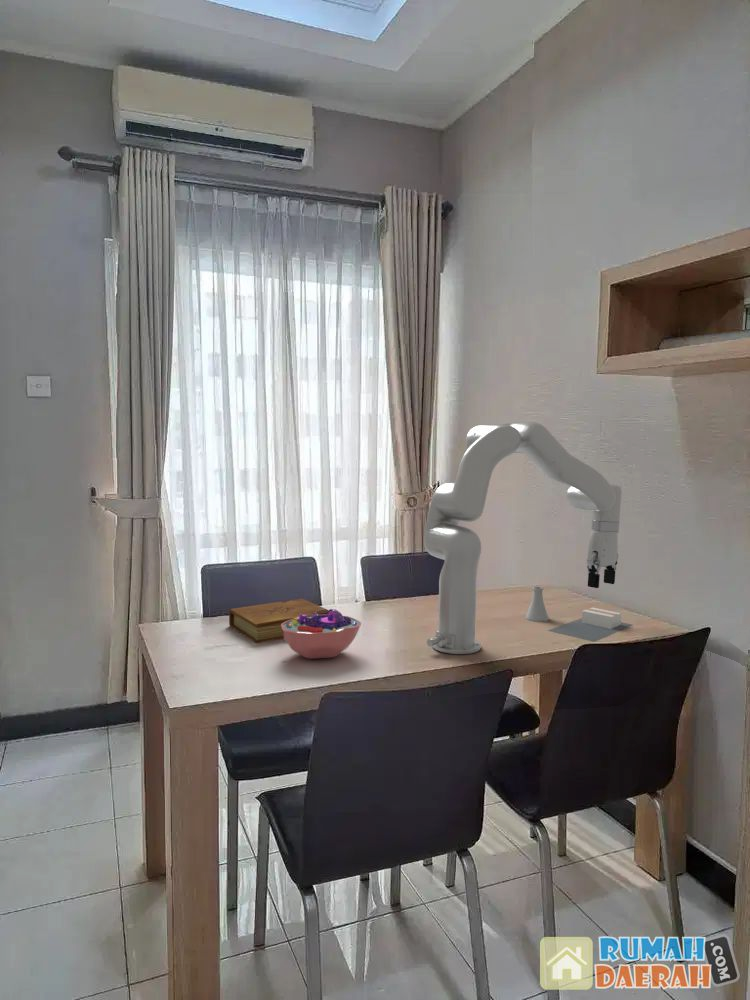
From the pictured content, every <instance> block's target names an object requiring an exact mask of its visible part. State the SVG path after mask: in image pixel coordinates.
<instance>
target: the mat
mask: <svg viewBox="0 0 750 1000" xmlns="http://www.w3.org/2000/svg"><path fill="white" fill-rule="evenodd" d="M632 626H633V624H631V623H626V622H624V621H623V622H622V621H621V623H620V625H619V626H617V627H614V628H612V629H609V628H604V627H600V626H595V625H591V624H586V623H582V617H581V618H578V619H575V620H573V621H570V622H567V623H565V624H562V625H559V626H556V627H554V628H551V629H548V630H547V631H548V632H552V633H556V634H561V635H565V636H568V637H573V638H577V639H581V640H585V641H590V642H593V643H594V642H597V641H599V640H602V639H604V638H606V637H608V636H609V637H610V635H611V636H612V634H613V635H614V634H615V633H618V632H620V631H622V630H624V629H627V628H630V627H632Z"/></svg>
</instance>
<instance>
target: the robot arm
mask: <svg viewBox="0 0 750 1000" xmlns="http://www.w3.org/2000/svg"><path fill="white" fill-rule="evenodd" d="M465 443H466V447H467V450H466V451H465V453H464V454H463V456H462V458H461V460H460V462H459V465H458V469H457V473H456V478H455V480H454V482H446V483H443V484H441V485H440V486H439V487H438V488H436V490H435V491H434V493H433V494H432V497H431V501H430V504H429V508H428V513H427V518H426V522H425V527H424V533H423V547H424V548H425V550H426V552H427V553H428V554H429V555H431V556H432V557H435V558H437V559H440V560H444V561H443V565H442V567H441V570H440V574H439V580H438V589H439V590H438V619H437V620H438V623H437V624H438V625H437V631H435V632H436V633H435V636H434V637H430V638H428V639H427V640H426V644H427V646H429V647H431V648H433V649H434V650H436V651H439V652H441V653H445V654H450V655H468V654H474V653H477V652H479V651H480V650H481V647H482V645H481V642H480V641H478V640H477V639H476V614H477V613H476V612H477V611H476V609H477V577H478V569H479V562H480V557H481V553H482V542H481V538H480V537H479V535H478V534H477V533H476V532H475V531H474V530H472V529H471V528H469V527H466V526H461V525H458V524H459V521H461V522H465V523H466V522H468V523H471V522H472V523H473V522H476V521H477V520H479V519H480V518H481V516H482V515H483V512H484V510H485V509H484V508H485V504H486V500H487V495H488V490H489V486H490V482H491V477H492V474H493V471H494V470H495V468H496V467H497V465H498V464H499V463H500V462H501V461H502V460H504V459H505V458H506V457H509V456H511V455H513V454H524V455H526V456H527V457H528V459H530V460H531V461H532V462H533V463H534V464H535V465H536V466H537V467H538V468H539V470H541V471H542V472H543V474H544V475H545V476H547V477H548V478H550V479H552V480H553V481H555V482H557V483H561V484H564V485H567V486H570V487H569V488H568V489H567V491H566V500H567V502H568V504H569V505H570V506H571V507H573V508H575V509H578V510H579V509H580V510H586V511H587V510H588V511H592V518H591V532H590V536H589V541H588V545H587V546H588V547H587V554H586V555H587V556H586V564H587V566H586V567H587V574H588V576H587V577H588V578H587V587H588V588H589V587H590V588H594V589H599V588H600V579H601V575H600V574H599V572H600V571H601V568H604V570H603V583H604V584H609V585H615V581H616V570H617V565H618V559H619V556H620V555H619V554H618V549H619V548H618V545H619V544H618V534H619V532H620V522H621V521H620V520H621V519H620V518H621V503H622V487H621V486H620V485H618V484H611V483H610V482H609V481H608V480H607V479H606V478H605V477H604V476H603V474H601V472H599V471H598V470H596V469H595V468H593V467H592V466H590V465H588V464H586V463H585V462H583V461H582V460H580V459H579V458H577V457H575V456H573V455H572V454H570V453H569V452H568V451H567V449H566V448H565V447H564V446H563V445H562V444H561V443H560V442H559V441H558V440H557V439H556V438H555V436H554V435H553V434H552V433H551V432H550V431H549V429H547V427H545V426H544V425H543V424H541V423H538V422H532V421H529V422H527V421H525V422H523V421H522V422H509V423H496V424H495V423H494V424H479V425H476V426H474V427H472V428H471V429H470V430H469V431H468V433H467V434H466V439H465Z"/></svg>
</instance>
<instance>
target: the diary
mask: <svg viewBox="0 0 750 1000" xmlns="http://www.w3.org/2000/svg"><path fill="white" fill-rule="evenodd" d="M329 610H330V609H327V608H326V607H322V606H320V605H318V604H316V603H314V602H311V601H309V600H306V599H305V598H298V599H290V600H284V601H283V600H282V601H276V602H275V601H274V602H269V603H263V604H256V605H255V604H253V605H249V606H241V607H236V608H234V607H233V608H230V609H229V611H228V621H229V622H228V625H229V628H232V629H233V630H234V631H236V632H237V633H239V634H241V635H243V636H244V637H246V638H247V639H248V640H251V641H252V643H253V642H254V643H255V644H261V643H267V642H271V641H277V640H285V639H284V637H283V633H282V627H281V624H282V623H284V622H286V621H288V620H291V619H293V618H296V617H299V616H300V614H302V616H303V615H309V614H328V612H329Z"/></svg>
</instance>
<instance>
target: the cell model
mask: <svg viewBox="0 0 750 1000" xmlns="http://www.w3.org/2000/svg"><path fill="white" fill-rule="evenodd" d="M328 610H329V612H328V614H309V615H303V616H302V614H300V616H299V617H296V618H293V619H291V620H288V621H286V622H284V623H282V624H281V627H282V633H283V637H284V639H283V640H284V641H285V642H286V643H287V644H288V646H289V648H290V649H291V650H292V651H293V652H294V653H296V654H297V655H300V656H302V657H304V658H306V659H313V660H315V659H330V658H335V657H337V656H338V655H340V654H341V653H342V652H344V651H345V650H347V649H348V648H349V647H350V645H351V644H352V642H353V641H354V640H355V639H356V637H357V635H358V633H359V631H360V628H361V625H362V622H361V621H360V620H358V619H356V618H354V617H351V616H348V615H347V616H346V615H343V614H342V613H341V612H340V611H339V610H337V609H334V608H330V609H328Z"/></svg>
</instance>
